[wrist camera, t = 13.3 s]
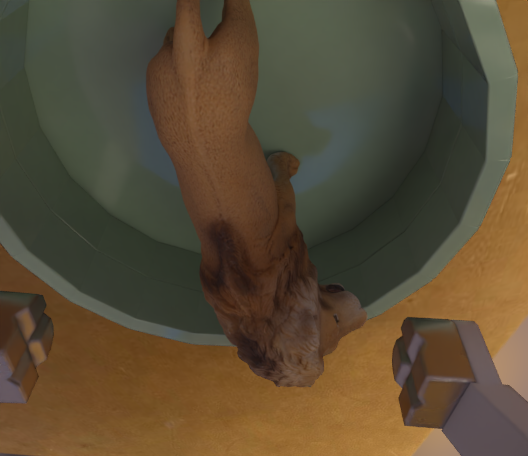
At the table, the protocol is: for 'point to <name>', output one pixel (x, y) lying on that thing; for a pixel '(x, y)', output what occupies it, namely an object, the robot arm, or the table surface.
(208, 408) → the table surface
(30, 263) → the bowl
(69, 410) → the table surface
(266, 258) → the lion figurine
